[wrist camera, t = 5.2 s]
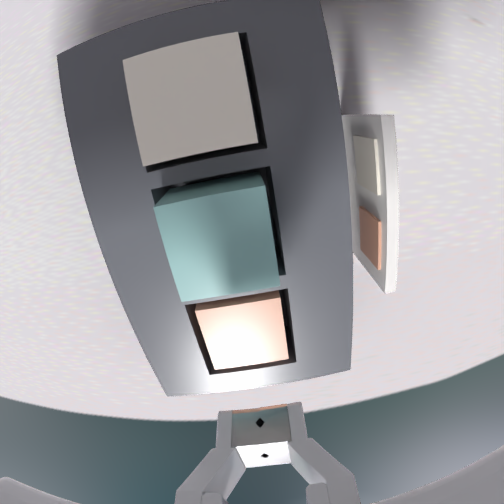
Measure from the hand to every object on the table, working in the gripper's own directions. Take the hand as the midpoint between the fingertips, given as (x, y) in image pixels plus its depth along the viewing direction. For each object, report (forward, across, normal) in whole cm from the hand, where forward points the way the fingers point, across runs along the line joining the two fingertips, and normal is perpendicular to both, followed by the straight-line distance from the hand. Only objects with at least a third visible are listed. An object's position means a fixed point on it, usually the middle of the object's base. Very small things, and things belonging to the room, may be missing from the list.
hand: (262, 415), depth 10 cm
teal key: (+7, +1, -5) cm, 8 cm away
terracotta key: (+8, +1, 0) cm, 8 cm away
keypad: (+9, +1, -5) cm, 11 cm away
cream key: (+7, +1, -11) cm, 13 cm away
